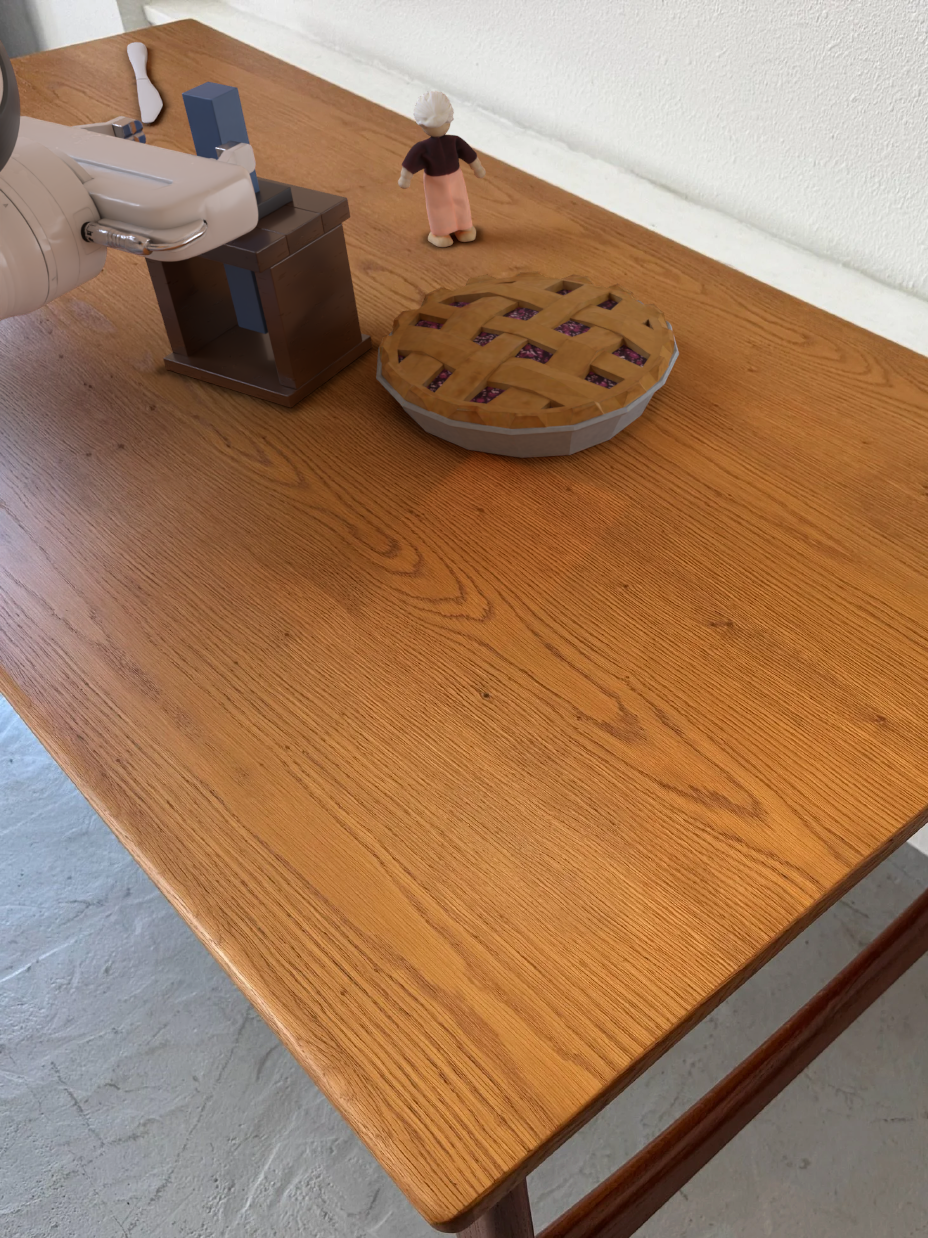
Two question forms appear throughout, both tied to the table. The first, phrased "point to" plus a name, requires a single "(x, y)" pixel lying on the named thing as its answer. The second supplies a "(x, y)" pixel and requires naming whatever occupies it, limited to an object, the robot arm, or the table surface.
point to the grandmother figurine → (442, 171)
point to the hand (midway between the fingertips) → (190, 141)
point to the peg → (216, 124)
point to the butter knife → (144, 83)
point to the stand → (267, 304)
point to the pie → (527, 363)
